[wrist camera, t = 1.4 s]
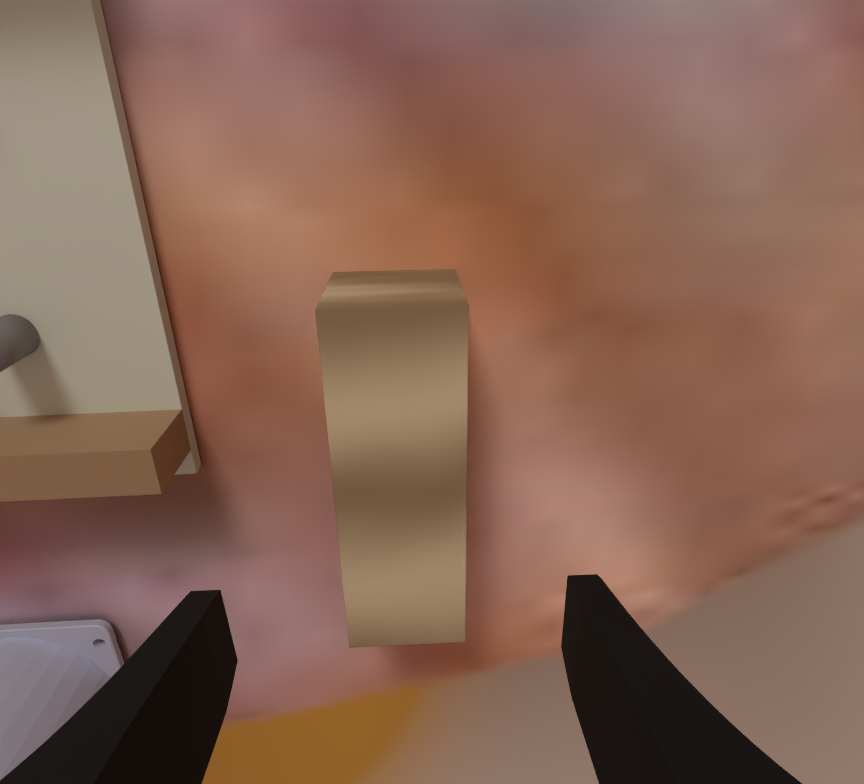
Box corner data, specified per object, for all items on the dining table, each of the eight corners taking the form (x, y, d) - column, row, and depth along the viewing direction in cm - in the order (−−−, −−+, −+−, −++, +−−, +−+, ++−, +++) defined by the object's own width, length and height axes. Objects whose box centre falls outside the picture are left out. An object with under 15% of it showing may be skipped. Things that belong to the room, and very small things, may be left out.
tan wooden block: (454, 553, 24) (465, 641, 20) (358, 558, 24) (349, 647, 20) (454, 267, 20) (468, 305, 15) (334, 270, 19) (315, 310, 15)
